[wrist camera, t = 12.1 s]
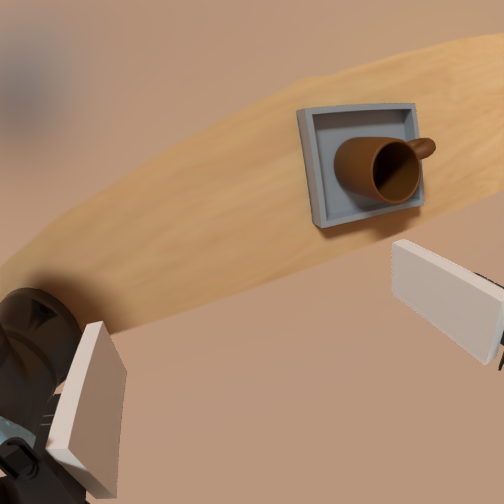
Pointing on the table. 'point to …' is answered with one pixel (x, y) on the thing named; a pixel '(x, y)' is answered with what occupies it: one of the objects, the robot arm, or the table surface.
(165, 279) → the table surface
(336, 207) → the tray
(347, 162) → the mug
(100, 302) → the table surface
